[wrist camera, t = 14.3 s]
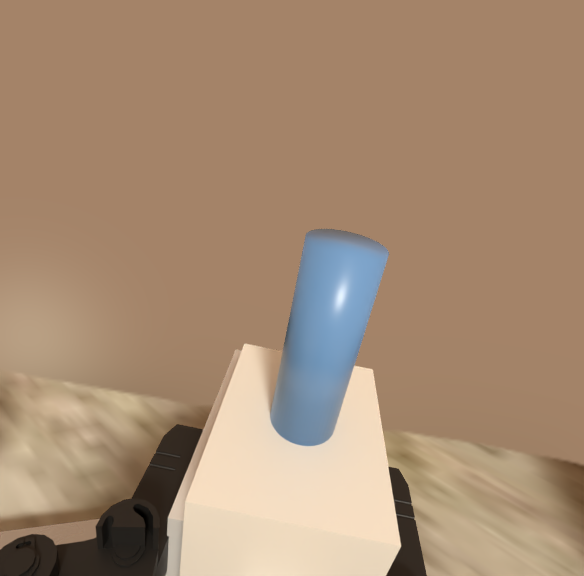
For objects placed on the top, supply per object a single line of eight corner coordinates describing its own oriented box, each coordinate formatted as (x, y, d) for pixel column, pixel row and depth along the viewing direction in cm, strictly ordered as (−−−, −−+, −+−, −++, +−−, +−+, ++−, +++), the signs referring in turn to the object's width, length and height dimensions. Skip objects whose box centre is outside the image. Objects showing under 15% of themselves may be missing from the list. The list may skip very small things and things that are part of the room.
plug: (154, 798, 10) (174, 310, 3) (210, 583, 15) (265, 195, 8) (276, 825, 10) (547, 385, 3) (293, 601, 15) (421, 226, 8)
